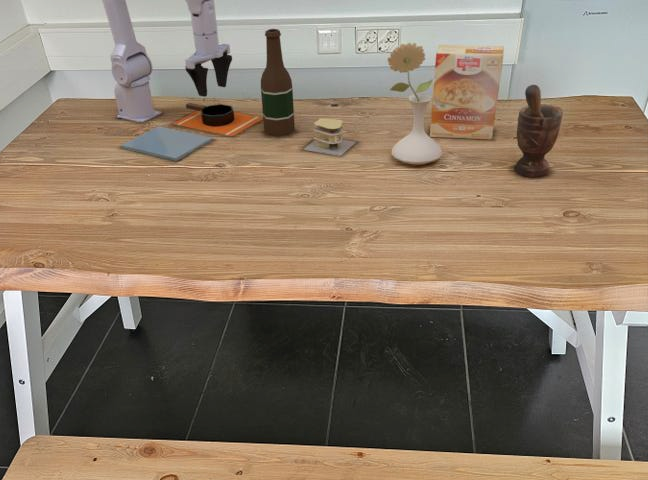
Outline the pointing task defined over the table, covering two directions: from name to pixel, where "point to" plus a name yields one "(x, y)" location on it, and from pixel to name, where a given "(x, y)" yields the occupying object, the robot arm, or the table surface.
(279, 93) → the beer bottle
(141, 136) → the trivet
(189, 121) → the tea towel
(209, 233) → the table surface
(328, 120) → the stacked layers on plate
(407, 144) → the flower in vase
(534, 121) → the mortar and pestle
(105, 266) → the table surface
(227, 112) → the skillet
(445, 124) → the coffeecake box
